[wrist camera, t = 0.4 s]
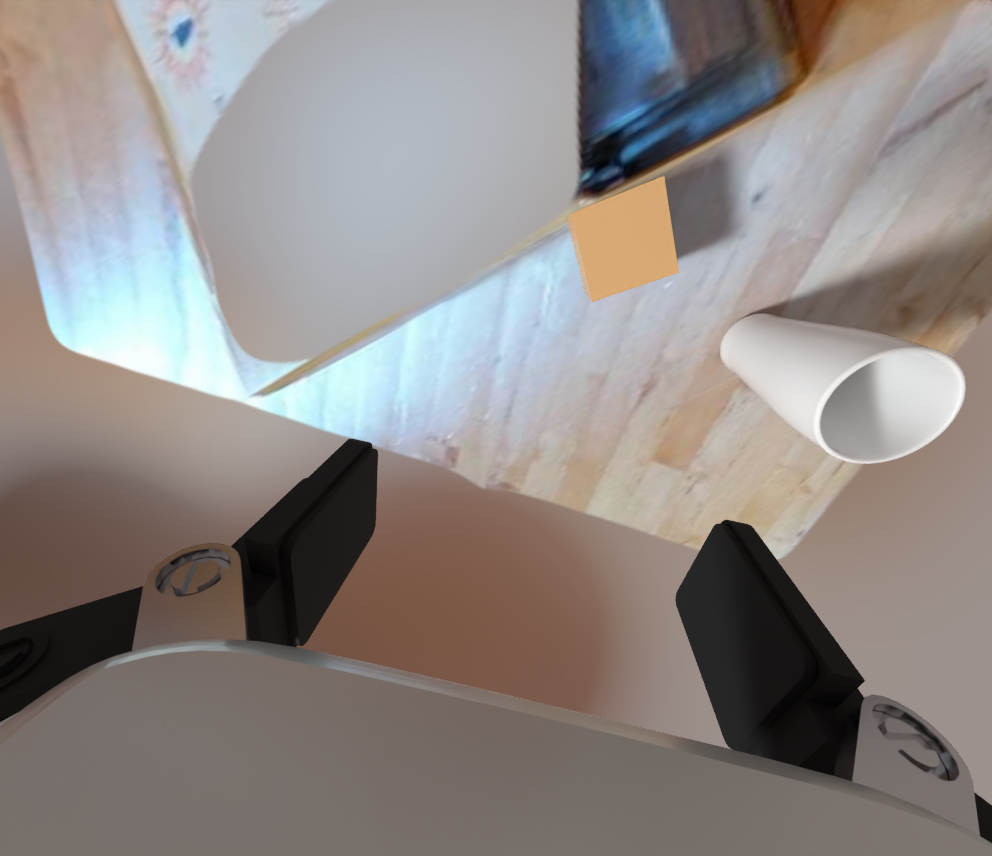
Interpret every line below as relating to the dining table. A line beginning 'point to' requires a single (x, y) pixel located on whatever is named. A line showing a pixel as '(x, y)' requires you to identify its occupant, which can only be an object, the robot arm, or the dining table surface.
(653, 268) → the beige wooden cube
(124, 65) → the dining table surface
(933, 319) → the dining table surface
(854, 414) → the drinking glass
